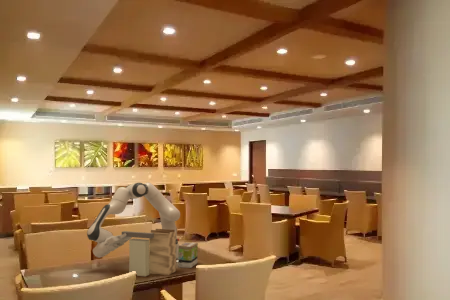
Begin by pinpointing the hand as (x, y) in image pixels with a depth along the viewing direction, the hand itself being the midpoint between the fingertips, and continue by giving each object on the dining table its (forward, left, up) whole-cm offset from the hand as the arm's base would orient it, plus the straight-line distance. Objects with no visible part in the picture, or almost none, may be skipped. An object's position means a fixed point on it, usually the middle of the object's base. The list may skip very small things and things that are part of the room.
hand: (128, 233), depth 264 cm
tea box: (-34, +26, -26) cm, 50 cm away
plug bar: (0, +7, -2) cm, 7 cm away
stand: (-11, +19, -26) cm, 34 cm away
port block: (0, +8, -26) cm, 27 cm away
